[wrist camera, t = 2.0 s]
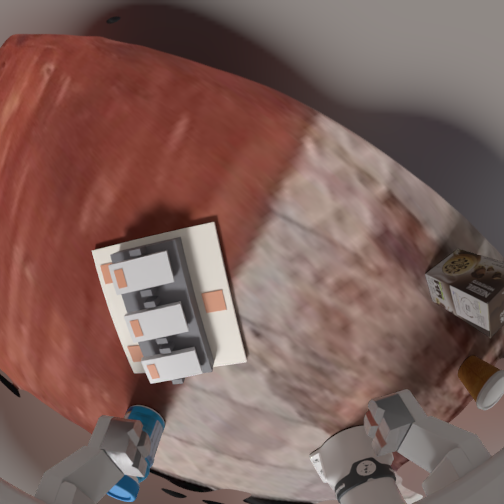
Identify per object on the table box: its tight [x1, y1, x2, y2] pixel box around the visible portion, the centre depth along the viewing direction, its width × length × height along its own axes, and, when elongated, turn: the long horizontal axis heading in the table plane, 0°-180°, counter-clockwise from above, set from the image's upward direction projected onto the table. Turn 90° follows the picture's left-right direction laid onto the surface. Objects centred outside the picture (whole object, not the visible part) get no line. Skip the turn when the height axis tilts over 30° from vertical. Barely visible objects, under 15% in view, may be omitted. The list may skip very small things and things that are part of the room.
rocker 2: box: [124, 301, 189, 343], centre depth 35 cm, size 4×8×1 cm, turn 101°
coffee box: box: [425, 249, 504, 338], centre depth 33 cm, size 9×6×16 cm
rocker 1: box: [108, 250, 175, 295], centre depth 34 cm, size 4×8×1 cm, turn 101°
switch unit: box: [92, 222, 247, 384], centre depth 38 cm, size 22×20×6 cm
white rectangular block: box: [141, 347, 203, 384], centre depth 36 cm, size 4×8×1 cm, turn 101°
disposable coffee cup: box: [458, 356, 504, 410], centre depth 39 cm, size 10×10×12 cm
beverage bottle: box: [106, 405, 165, 502], centre depth 36 cm, size 8×8×20 cm
